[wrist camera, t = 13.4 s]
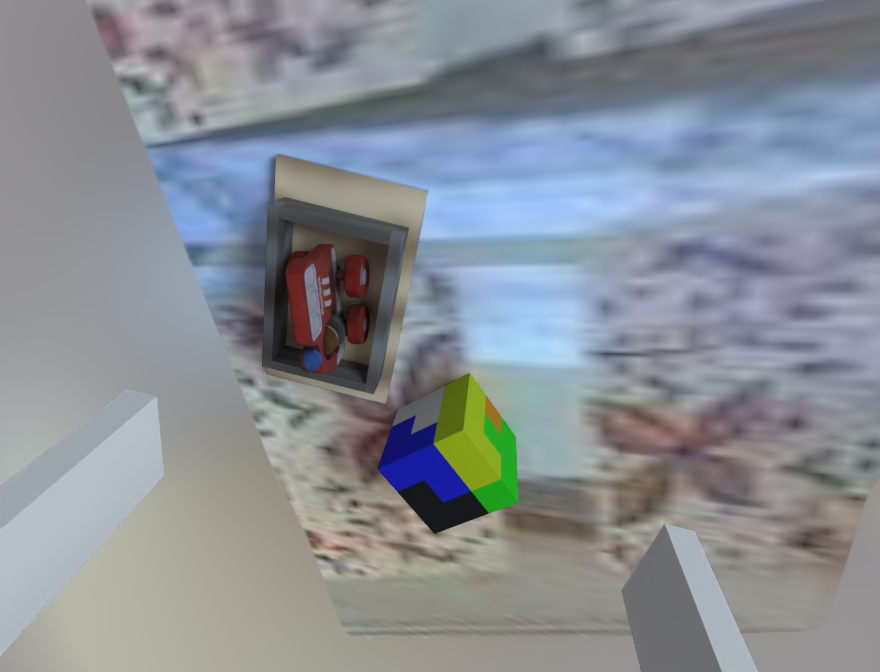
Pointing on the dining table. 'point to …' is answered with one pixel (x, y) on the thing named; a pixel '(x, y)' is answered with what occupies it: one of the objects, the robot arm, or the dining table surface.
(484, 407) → the puzzle toy
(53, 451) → the robot arm
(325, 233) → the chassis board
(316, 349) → the toy fire truck
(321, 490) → the dining table surface
